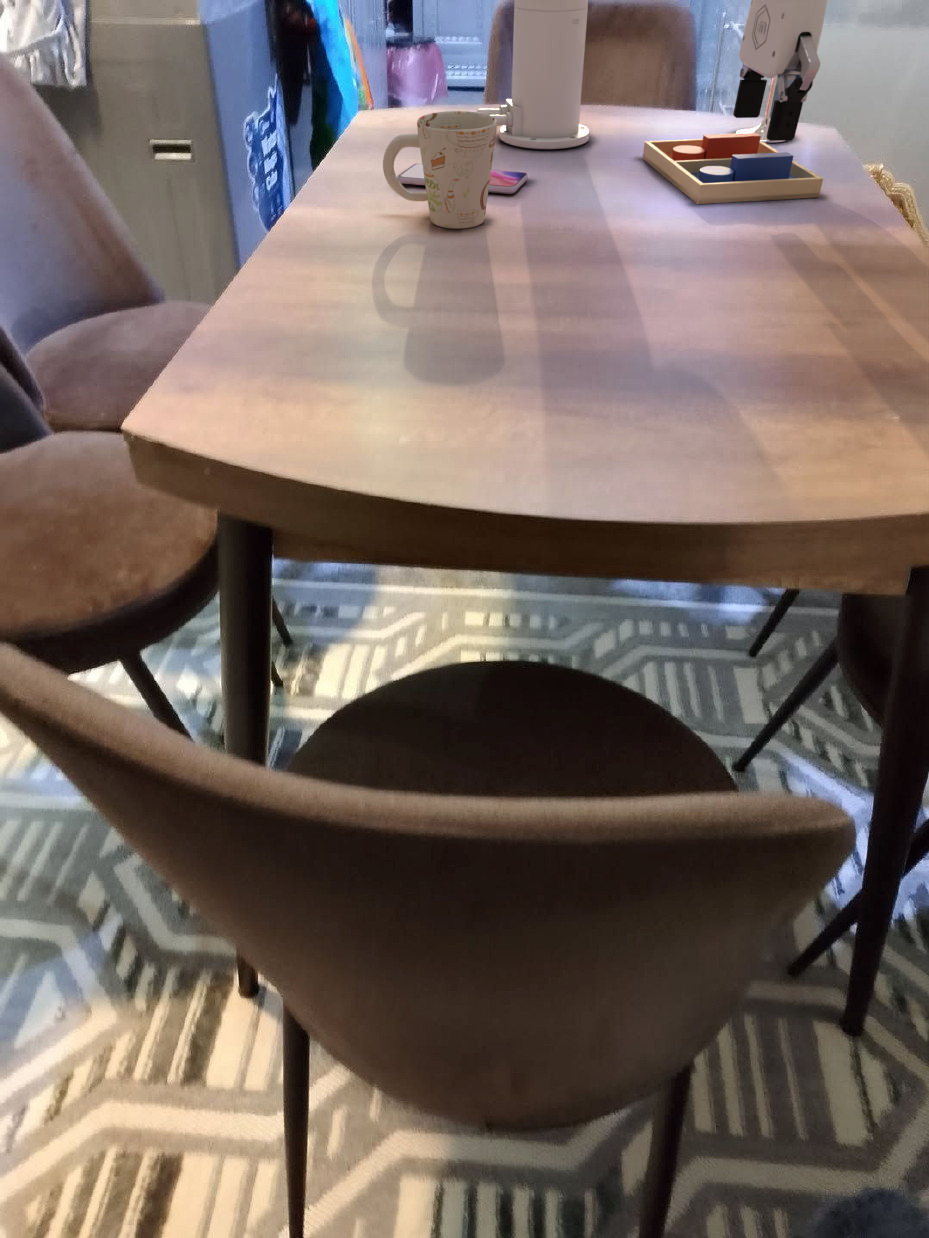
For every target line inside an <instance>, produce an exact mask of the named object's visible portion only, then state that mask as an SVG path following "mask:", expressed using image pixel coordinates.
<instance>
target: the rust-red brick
mask: <svg viewBox="0 0 929 1238" xmlns="http://www.w3.org/2000/svg"><path fill="white" fill-rule="evenodd" d="M760 137H761V136H760V135H758V134H757V133H736V132H735V133H714V134H703V136H702V139H703V141H702V148H701V147H697V146H690V145H683V146H677V147H674V148H673V153H672V160H674V161H682V160H702V159H722V158H732V155H739V154H757V153H758V148H759V143H760Z"/></svg>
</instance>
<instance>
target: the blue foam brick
mask: <svg viewBox="0 0 929 1238" xmlns="http://www.w3.org/2000/svg"><path fill="white" fill-rule="evenodd" d="M779 152H780V153H759V154H739V155H732V159H731V165H730V168H727V167H722V166H706V167H702V168H701V169H700V172H699V178H698V180H699V181H701V182H702V183H719V182H738V181H757V180H775V179H789V174H790V170H791V165H792V161H793V160H794V155H793V154H791V153H790V152H787V151H779Z"/></svg>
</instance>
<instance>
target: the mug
mask: <svg viewBox="0 0 929 1238" xmlns="http://www.w3.org/2000/svg"><path fill="white" fill-rule="evenodd" d="M416 128H417V133H404V134H399V135H397V136H395V137H393V138H392V140H391V141H390V142H389V143H388V144H387V147H386V149H385V151H384V154H383V160H382V172H383V175H384V178H385V180H386V182H387V185H388V186H390V188H391V190H392V191H394V192H395V193H396V194H397V195H399V196H400V197H401V198H403V199H404V200H407V201H411V202H427V205H428V212H429V219H430V222H431V223H432V224H433V225H435V226H437V227H441V228H445V229H453V230H454V229H457V230H459V229H469V228H474V227H477V226H480V225H482V224H483V223H484V221H485V219H486V211H487V205H488V198H489V192H488V190H489V182H490V175H491V170H492V167H493V159H494V152H495V144H496V137H497V128H498V126H497V121H496V119H495V118H494V117H492V116H490V115H487V114H483V113H478V112H477V111H467V110H450V111H449V110H448V111H446V110H445V111H438V112H432V113H427V114H424V115H422V116H420V117H418V118H417V120H416ZM404 148H419V151H420V157H421V164H422V165H423V172H424V179H425V185H424V186H425V192H414V191H413V192H412V191H409V190H408V189H406V188H405V187H404V185H402V183H400V182H399V180H398V179H397V177H398V176H397V175H396V172H395V160H396V157H397V156H398V154H399V153H400V152H401V151H402V150H403V149H404Z"/></svg>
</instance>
